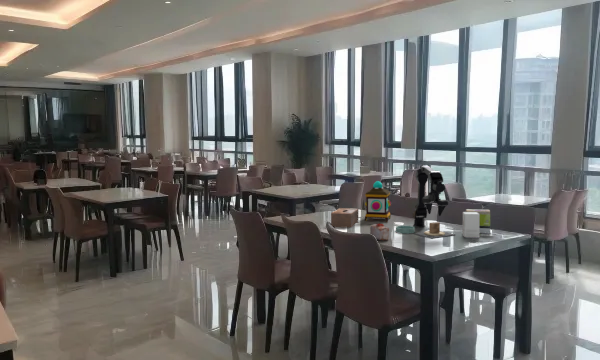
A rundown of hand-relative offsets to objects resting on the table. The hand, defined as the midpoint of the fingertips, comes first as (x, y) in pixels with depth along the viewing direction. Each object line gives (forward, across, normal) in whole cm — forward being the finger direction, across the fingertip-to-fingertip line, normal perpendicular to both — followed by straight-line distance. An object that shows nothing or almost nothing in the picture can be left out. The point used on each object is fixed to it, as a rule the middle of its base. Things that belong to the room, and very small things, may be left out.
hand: (434, 214), depth 310 cm
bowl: (+13, -18, -9) cm, 24 cm away
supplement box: (+13, +15, +16) cm, 26 cm away
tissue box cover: (+14, -64, -27) cm, 70 cm away
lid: (+12, 0, 0) cm, 12 cm away
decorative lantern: (+13, -66, +4) cm, 67 cm away
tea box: (+13, +8, +30) cm, 34 cm away
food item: (+13, -8, -38) cm, 41 cm away
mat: (+13, 0, 0) cm, 13 cm away
